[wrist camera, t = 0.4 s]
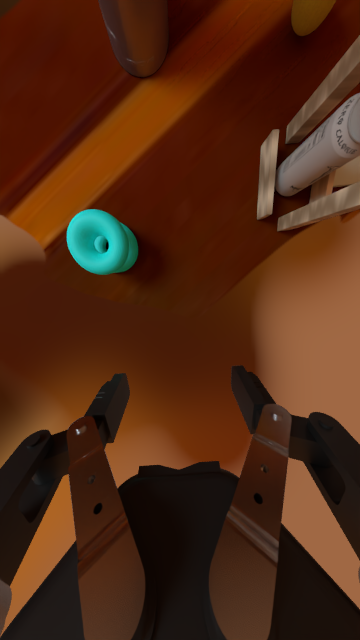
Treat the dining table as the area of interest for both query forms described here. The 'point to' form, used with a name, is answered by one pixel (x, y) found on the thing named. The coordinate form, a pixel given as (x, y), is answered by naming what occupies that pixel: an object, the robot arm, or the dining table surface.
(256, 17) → the dining table surface
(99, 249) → the donuts
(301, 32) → the lemon
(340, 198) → the cradle
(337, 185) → the coaster
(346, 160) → the energy drink can
